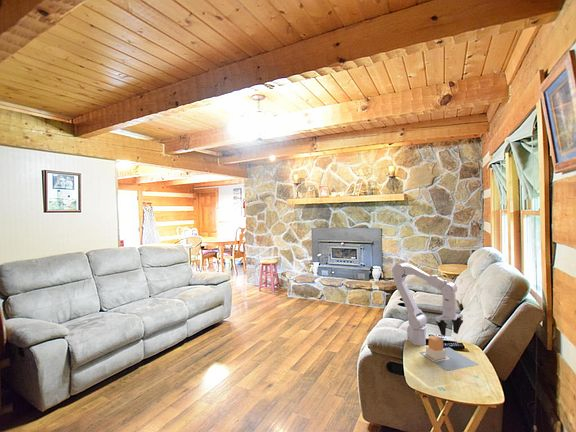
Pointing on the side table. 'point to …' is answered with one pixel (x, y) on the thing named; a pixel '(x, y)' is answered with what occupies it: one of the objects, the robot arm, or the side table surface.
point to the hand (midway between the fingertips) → (449, 334)
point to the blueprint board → (452, 360)
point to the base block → (435, 353)
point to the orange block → (435, 343)
